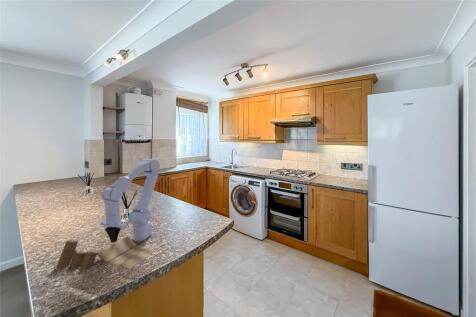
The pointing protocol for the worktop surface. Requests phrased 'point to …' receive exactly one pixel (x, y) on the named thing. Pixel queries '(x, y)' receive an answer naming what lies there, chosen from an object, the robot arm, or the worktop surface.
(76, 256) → the wooden block set
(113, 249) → the oak plank
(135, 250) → the floor panel
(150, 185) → the robot arm
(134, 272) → the worktop surface
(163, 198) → the worktop surface
